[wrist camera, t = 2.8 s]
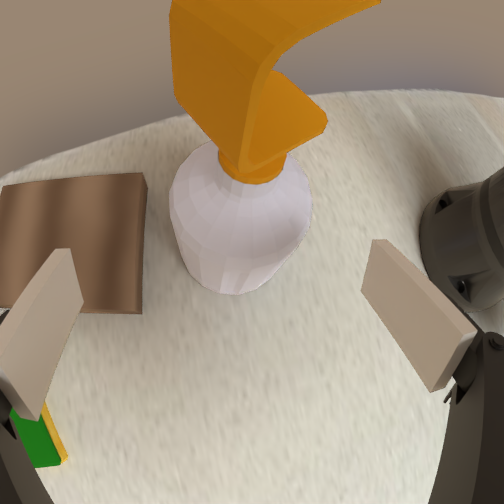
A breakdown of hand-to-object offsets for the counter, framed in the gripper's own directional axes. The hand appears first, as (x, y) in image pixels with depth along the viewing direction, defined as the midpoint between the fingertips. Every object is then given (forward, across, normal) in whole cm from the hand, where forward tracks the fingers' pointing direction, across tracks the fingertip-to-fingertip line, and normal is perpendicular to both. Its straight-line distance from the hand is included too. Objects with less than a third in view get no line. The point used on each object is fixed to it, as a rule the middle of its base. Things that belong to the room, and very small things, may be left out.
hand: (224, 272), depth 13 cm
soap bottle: (+15, +2, -6) cm, 16 cm away
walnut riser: (+15, -14, -6) cm, 21 cm away
